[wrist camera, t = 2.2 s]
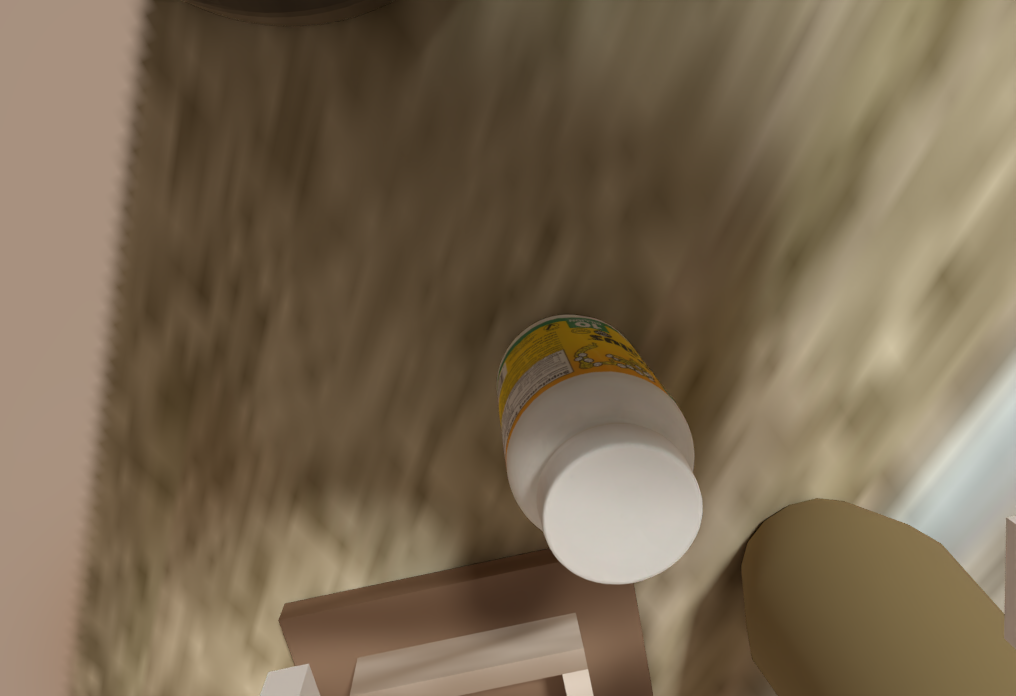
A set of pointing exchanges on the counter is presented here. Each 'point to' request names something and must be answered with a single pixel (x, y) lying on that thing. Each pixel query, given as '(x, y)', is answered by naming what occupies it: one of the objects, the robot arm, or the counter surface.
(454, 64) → the counter surface
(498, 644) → the collar holder
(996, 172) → the counter surface
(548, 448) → the supplement bottle
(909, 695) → the squeeze bottle
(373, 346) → the counter surface
